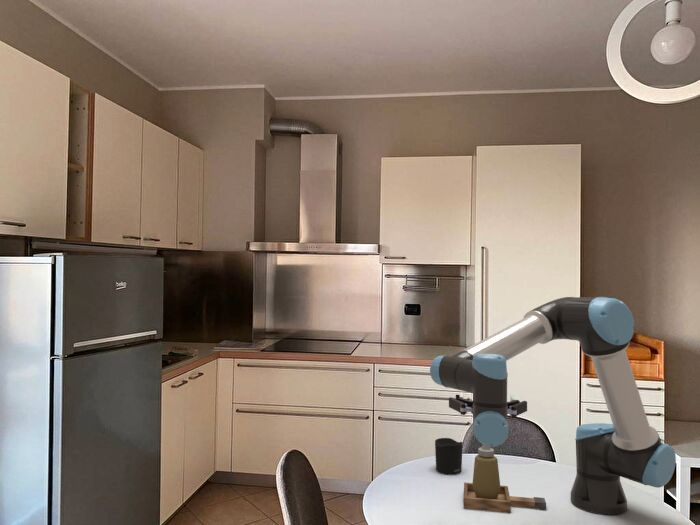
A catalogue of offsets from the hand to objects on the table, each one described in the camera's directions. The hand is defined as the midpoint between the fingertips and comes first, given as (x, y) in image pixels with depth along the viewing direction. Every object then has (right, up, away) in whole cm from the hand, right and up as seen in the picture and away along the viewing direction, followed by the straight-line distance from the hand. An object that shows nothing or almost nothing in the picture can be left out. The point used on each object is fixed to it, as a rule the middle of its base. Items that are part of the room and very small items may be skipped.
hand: (486, 398), depth 152 cm
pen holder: (-4, -34, +36) cm, 50 cm away
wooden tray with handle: (+7, -32, +7) cm, 34 cm away
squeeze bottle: (+2, -32, +8) cm, 33 cm away
